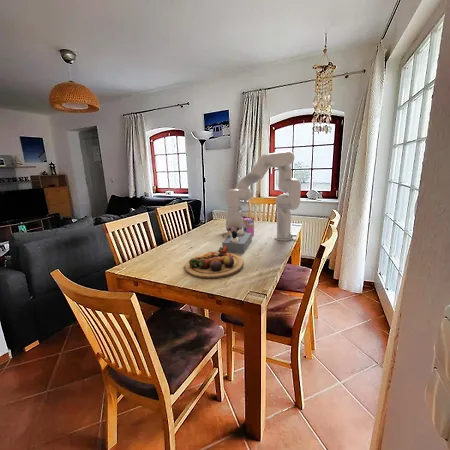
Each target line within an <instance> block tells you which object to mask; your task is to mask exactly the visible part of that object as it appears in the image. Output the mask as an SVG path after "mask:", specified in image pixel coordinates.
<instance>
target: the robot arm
mask: <svg viewBox="0 0 450 450" xmlns="http://www.w3.org/2000/svg"><path fill="white" fill-rule="evenodd" d="M294 161H295V154H294V153H293V152H292V151H290V150H285V151H276V152H272V153H264V154H262V155H261V156H260V158H259V159H258V160H257V161H256V163H255V165H254V166H253V168H252V169H251V170H250V172H248V173H247V174H245V176H243V178H241V179H240V180H239V182H238V183H237V184H236V186H235V188H230V189H227V191H226V194H227V195H226V197H227V211H226V215H225V228H227V229H229V230H230V231H231V232H232V237H233V238H236V237H237V231H238V230H240V229H243V227H242V225H243V219H242V216H243V214H242V210H243V207H241V204H240V203H241V201H250V200H251V199H252V198H253V195H254V194H253V190H252V189H251V188H249V187H250V186H251V185H253V184H257V182H260V181H262V179H263V178H264V177H265V175H266V174H267V172H268V171H269V169H270V168H277V171H278V184H277V185H278V186H277V187H278V190H279V192H282V193H281V194H279V195H277V196H276V198H275V208H276V235H275V236H274V239H275V240H276V241H283V242H285V241H287V242H288V241H291V240H293V238H297V237H298V235H297V233H292V231H291V229H292V227H291V226H292V224H291V222H292V221H291V220H292V219H291V218H292V214H291V211H292V210H293V211H295V210H297V209H298V208H299V206H300V203H301V192H302V185H301V182H300V181H299V180H298V179H297V178H293V176H292V175H293V173H292V171H293V170H292V167H291V165H292V164H293V163H294ZM284 193H285V194H284ZM286 193H287V194H286ZM234 228H235V231H234ZM227 229H226V230H227Z"/></svg>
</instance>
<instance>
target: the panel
mask: <svg viewBox="0 0 450 450" xmlns="http://www.w3.org/2000/svg"><path fill="white" fill-rule="evenodd" d="M243 234H244V236H237V237H238V241H239V242H232V239H231V238H232V233H230V235H231V237H230V238H228V236H227V237H226V238H225V239H224V240H223V241H222V242H221V244H222V246H226V247H227V249H228V250H227V251H228V253H237V254H245V253H246V251H247V249H248V248H249V246H250V245H251V244H252V241H253V239H252V238H253V236H252V233H243Z"/></svg>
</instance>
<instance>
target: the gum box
mask: <svg viewBox="0 0 450 450" xmlns="http://www.w3.org/2000/svg"><path fill="white" fill-rule="evenodd" d="M242 219H243V225H242V227H243V233H252V237H253V236H254V235H255V217H254V218H253V217H250V216H243V215H242ZM234 231H235V228H234ZM231 233H232V232H231V231H230V234H231Z"/></svg>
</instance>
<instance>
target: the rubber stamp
mask: <svg viewBox="0 0 450 450" xmlns="http://www.w3.org/2000/svg"><path fill="white" fill-rule="evenodd" d="M225 228H226V227H225ZM226 231H227V234H226V235H227V237H228V238H230V237H231V235H230V234H231V233H230V230H229V229H227V228H226Z"/></svg>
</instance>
